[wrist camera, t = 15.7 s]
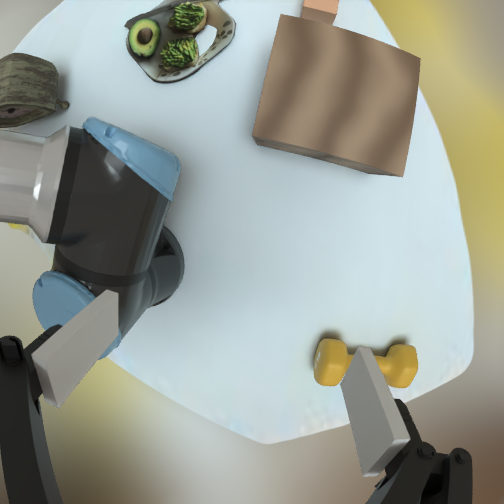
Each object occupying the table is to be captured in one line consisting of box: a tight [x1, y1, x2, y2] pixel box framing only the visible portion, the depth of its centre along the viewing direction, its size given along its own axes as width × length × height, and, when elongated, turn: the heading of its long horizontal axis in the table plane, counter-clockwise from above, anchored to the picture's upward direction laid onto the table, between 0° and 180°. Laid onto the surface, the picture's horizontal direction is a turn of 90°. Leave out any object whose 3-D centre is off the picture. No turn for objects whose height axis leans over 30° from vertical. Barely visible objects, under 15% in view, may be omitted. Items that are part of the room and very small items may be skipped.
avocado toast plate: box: [124, 0, 236, 83], centre depth 35 cm, size 19×18×5 cm
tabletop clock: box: [0, 53, 69, 128], centre depth 28 cm, size 14×9×25 cm, turn 91°
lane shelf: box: [252, 14, 420, 177], centre depth 33 cm, size 18×16×12 cm
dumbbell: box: [314, 338, 418, 388], centre depth 47 cm, size 19×9×8 cm, turn 81°
